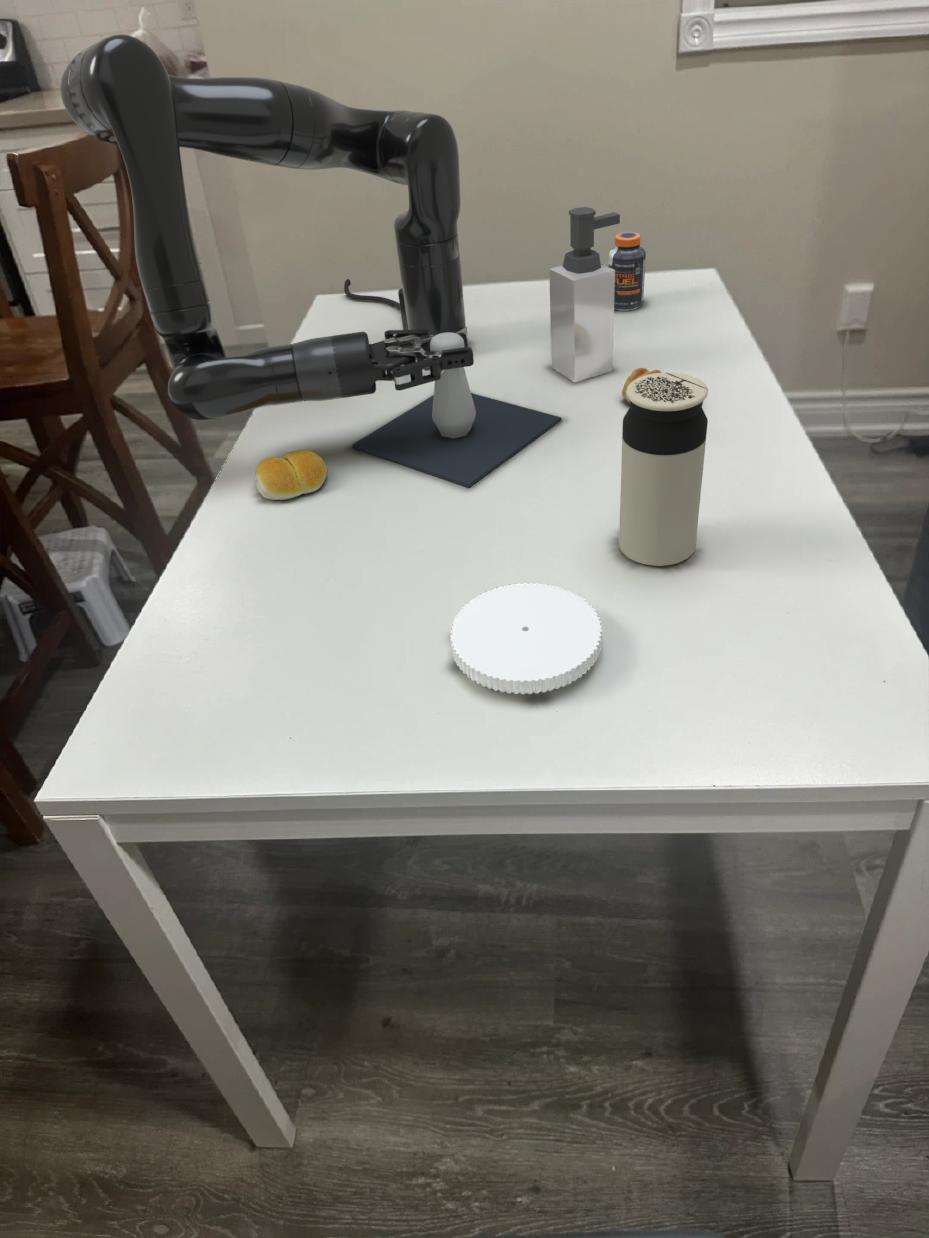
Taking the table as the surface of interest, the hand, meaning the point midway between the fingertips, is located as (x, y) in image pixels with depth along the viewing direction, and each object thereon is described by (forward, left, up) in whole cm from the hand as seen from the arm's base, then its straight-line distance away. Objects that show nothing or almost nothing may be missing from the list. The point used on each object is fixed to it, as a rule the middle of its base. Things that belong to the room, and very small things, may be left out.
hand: (469, 348), depth 109 cm
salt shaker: (-2, -2, -11) cm, 12 cm away
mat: (-2, -2, -11) cm, 12 cm away
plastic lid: (+31, -32, -12) cm, 46 cm away
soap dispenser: (+2, +24, -12) cm, 27 cm away
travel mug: (+33, -11, -12) cm, 37 cm away
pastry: (+16, +19, -12) cm, 28 cm away
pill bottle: (-6, +48, -12) cm, 50 cm away
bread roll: (-12, -23, -12) cm, 28 cm away
